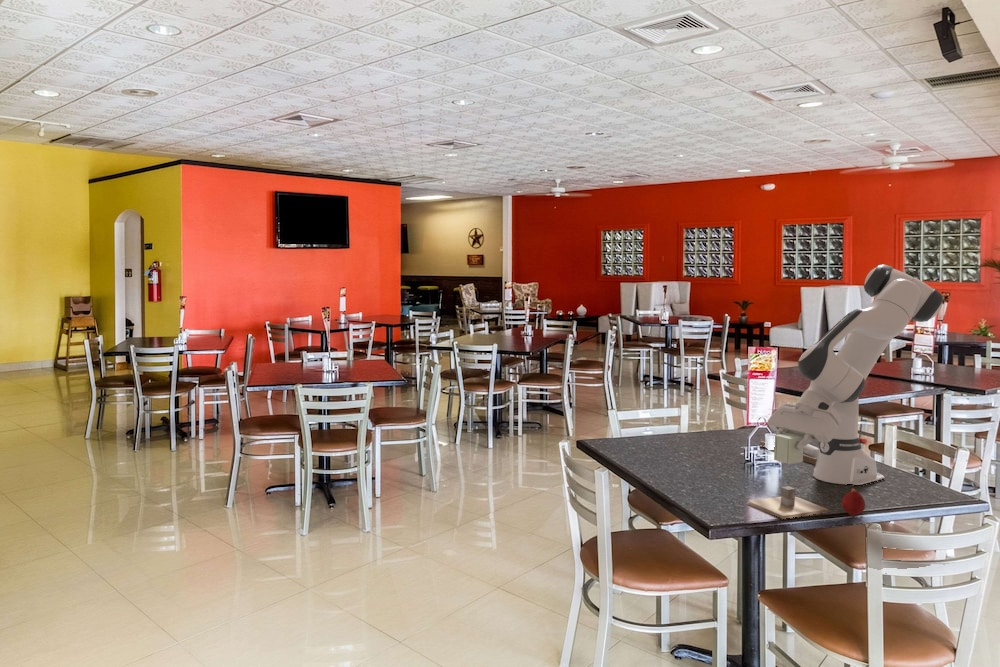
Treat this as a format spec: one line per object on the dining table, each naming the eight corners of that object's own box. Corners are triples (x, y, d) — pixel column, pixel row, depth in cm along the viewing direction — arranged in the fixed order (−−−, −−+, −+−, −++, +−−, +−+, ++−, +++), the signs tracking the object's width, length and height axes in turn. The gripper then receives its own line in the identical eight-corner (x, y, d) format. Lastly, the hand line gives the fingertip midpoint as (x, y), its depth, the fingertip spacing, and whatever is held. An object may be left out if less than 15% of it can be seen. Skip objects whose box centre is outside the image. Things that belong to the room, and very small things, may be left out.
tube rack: (782, 443, 290) (782, 438, 290) (838, 461, 264) (839, 456, 264) (759, 446, 286) (760, 441, 286) (815, 464, 260) (815, 458, 260)
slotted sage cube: (787, 457, 216) (788, 433, 215) (802, 461, 211) (803, 436, 210) (774, 459, 213) (774, 435, 212) (789, 464, 208) (790, 438, 208)
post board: (791, 498, 222) (792, 478, 222) (827, 512, 209) (828, 491, 209) (748, 504, 217) (749, 484, 216) (782, 519, 204) (783, 498, 203)
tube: (827, 450, 263) (787, 432, 288) (814, 447, 262) (775, 429, 287) (823, 464, 264) (783, 445, 288) (810, 461, 263) (771, 443, 287)
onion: (857, 513, 209) (859, 485, 209) (868, 520, 204) (870, 491, 203) (837, 513, 209) (838, 485, 208) (847, 520, 203) (849, 491, 203)
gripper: (778, 396, 223) (753, 431, 219) (837, 407, 205) (812, 446, 201) (788, 409, 225) (764, 445, 222) (847, 422, 207) (822, 460, 204)
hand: (787, 445), depth 211 cm, fingers closed on slotted sage cube, 5 cm apart
